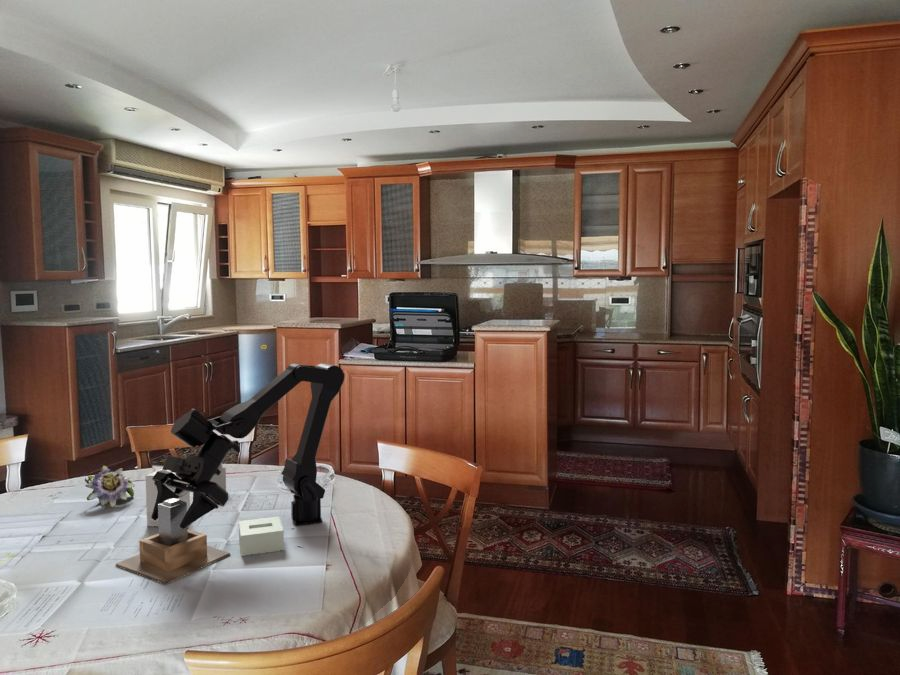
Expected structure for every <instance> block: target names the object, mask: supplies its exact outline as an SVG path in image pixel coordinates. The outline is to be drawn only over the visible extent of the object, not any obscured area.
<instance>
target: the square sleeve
mask: <svg viewBox="0 0 900 675" xmlns="http://www.w3.org/2000/svg"><path fill="white" fill-rule="evenodd" d="M187 530H188V540H186V541H183V542H181V543H178V544H176V545H173V546H171V547H168V546H165V545H162V544H159V532H158V533H155V534H152V535H150V536H147V537H145V538H142V539H140V540H139V541H138V542H139V554H136V555H134V556H131V557H129V558H126V559H124V560H121V561H119V562H117V563H115V566H116V565H117V566H116V567H118V566H119V567H118V568H120V567H122V568H121V569H123V568H125V569H124V570H126V569H127V570H126V571H128V570H130V571H129V572H131V571H133V572H132V573H134V572H135V573H134V574H136V573H138V574H137V575H139V574H141V575H140V576H142V575H143V576H142V577H144V576H146V577H145V578H147V577H148V578H147V579H150V580H152V579H153V581H155V580H156V581H155V582H157V581H159V582H158V583H160V582H161V583H160V584H163V585H168V584H170V583H172V582H174V581H176V580H178V579H180V577H181V578H182V576H183V577H184V575H185V576H187V575H189V574H191V572H192V573H194V572H196V571H198V570H200V569H202V568H201V567H203V568H205V567H207V566H209V565H211V564H213V562H214V563H216V562H218V561H221V560H223V559H225V558H228V557H229V556H231V552H229V551H226V550H222V549H220V548H216V547H213V546H209V545H208V537H207V536H208V534H205V533H202V532H199V531H197V530H192V529H190V528H187ZM215 561H216V562H215ZM210 563H211V564H210ZM208 564H209V565H208ZM206 565H207V566H206ZM204 566H205V567H204ZM199 568H200V569H199ZM197 569H198V570H197ZM195 570H196V571H195ZM193 571H194V572H193ZM188 573H189V574H188ZM173 580H174V581H173ZM171 581H172V582H171ZM169 582H170V583H169Z"/></svg>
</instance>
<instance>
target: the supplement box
mask: <svg viewBox="0 0 900 675" xmlns="http://www.w3.org/2000/svg"><path fill="white" fill-rule="evenodd" d="M162 469H163V467H162V468H160V469H158V470H156V471H153V472H151V473H149V474H147V475H145V498H146V500H145V501H146V526H147V527H154V526H158V527H157V528H159V524H158V518H157V519H156V520H153V519H152V518H151V517H152V513H153V510H154V506H155V503H156V499H157V494H158V491H157V487H156V485H154V482H155V481H154V480H152V478H153V477H154V475H155V474H156V472H157V471H160V470H162ZM165 471H169V472H171V471H170V470H165ZM172 473H174V472H172ZM174 474H175V475H176V473H174ZM176 476H177V475H176ZM177 477H178V476H177ZM179 478H180V477H179ZM180 479H181V478H180ZM177 495H178V496H179V498H178V499H180V500H181V501H184V502H187V511H188V509H189V507H190V506H191V492H190V491H186V490H183V491H182V492H181V493H179V494H177Z"/></svg>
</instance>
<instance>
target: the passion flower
mask: <svg viewBox="0 0 900 675" xmlns="http://www.w3.org/2000/svg"><path fill="white" fill-rule="evenodd" d="M100 470H101V471H100V472H98V473H97V474H96V473H95V475H88V476H87V478H86V477H85V478H84V482H85V483H86V484H85V485H84V487H86V488H89V489H92V491H91V493H89V494H88V495H87V497H86V501H93V500H95V499H96V498H97V499H98V503H99V505H100V506H101V507H104V506H106V505H108V506H109V508H114V507H116V504H117V499H121V500H123V501H126V500H127V499H128V495H129V496H130V497H131V498H134V496H135V492H134V489H133V488H134V487H135V483H134V482H133V481H131V480H130V479H131V476H130V475H125V476H124V474H122V473H123V468H122V467H121V468H119V469H116V470H115V471H114V470H111V468H108V466H106V465H103V466H102V467H101V469H100ZM127 494H128V495H127Z"/></svg>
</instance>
